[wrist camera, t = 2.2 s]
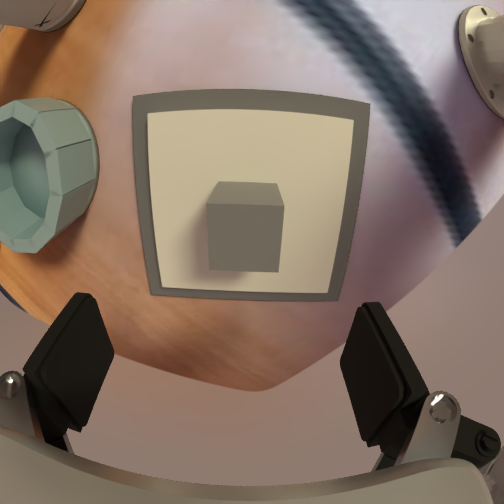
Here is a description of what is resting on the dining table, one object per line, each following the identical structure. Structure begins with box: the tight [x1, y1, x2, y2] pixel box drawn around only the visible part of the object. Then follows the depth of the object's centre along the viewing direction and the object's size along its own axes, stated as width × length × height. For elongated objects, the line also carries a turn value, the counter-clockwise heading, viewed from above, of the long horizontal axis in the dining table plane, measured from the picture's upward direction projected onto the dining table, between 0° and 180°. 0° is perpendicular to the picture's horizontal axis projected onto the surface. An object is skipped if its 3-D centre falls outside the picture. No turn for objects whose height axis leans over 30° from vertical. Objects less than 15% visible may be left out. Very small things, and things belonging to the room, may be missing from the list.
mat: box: [133, 89, 370, 301], centre depth 20 cm, size 17×17×1 cm
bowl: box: [0, 97, 100, 253], centre depth 16 cm, size 12×12×6 cm
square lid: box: [148, 109, 354, 293], centre depth 18 cm, size 14×14×6 cm
